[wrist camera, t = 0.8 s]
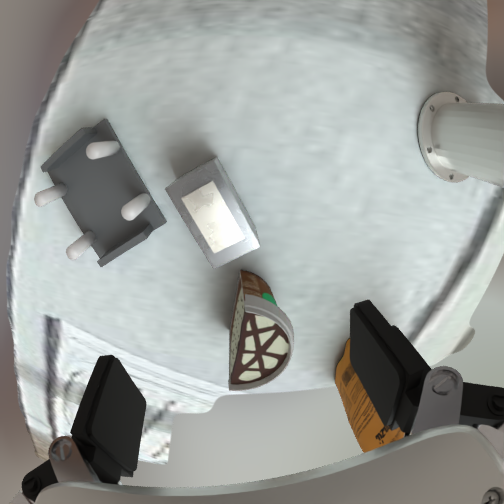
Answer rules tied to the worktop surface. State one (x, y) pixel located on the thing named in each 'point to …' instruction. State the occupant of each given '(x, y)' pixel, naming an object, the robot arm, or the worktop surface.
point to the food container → (257, 335)
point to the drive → (214, 213)
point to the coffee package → (361, 408)
